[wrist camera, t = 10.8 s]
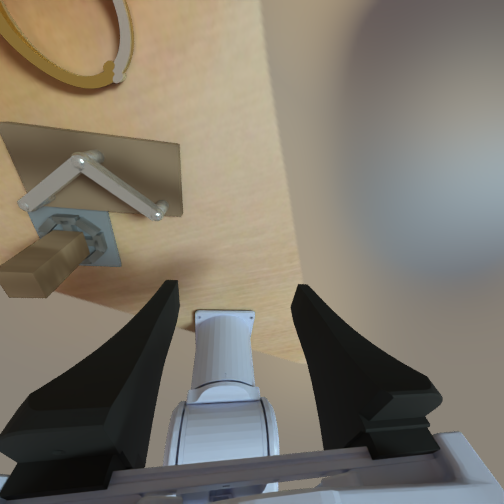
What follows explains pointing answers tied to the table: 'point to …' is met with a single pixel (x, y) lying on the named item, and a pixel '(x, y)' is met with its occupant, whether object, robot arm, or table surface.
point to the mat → (94, 217)
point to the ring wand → (51, 257)
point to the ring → (113, 70)
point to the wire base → (115, 160)
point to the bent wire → (94, 170)
